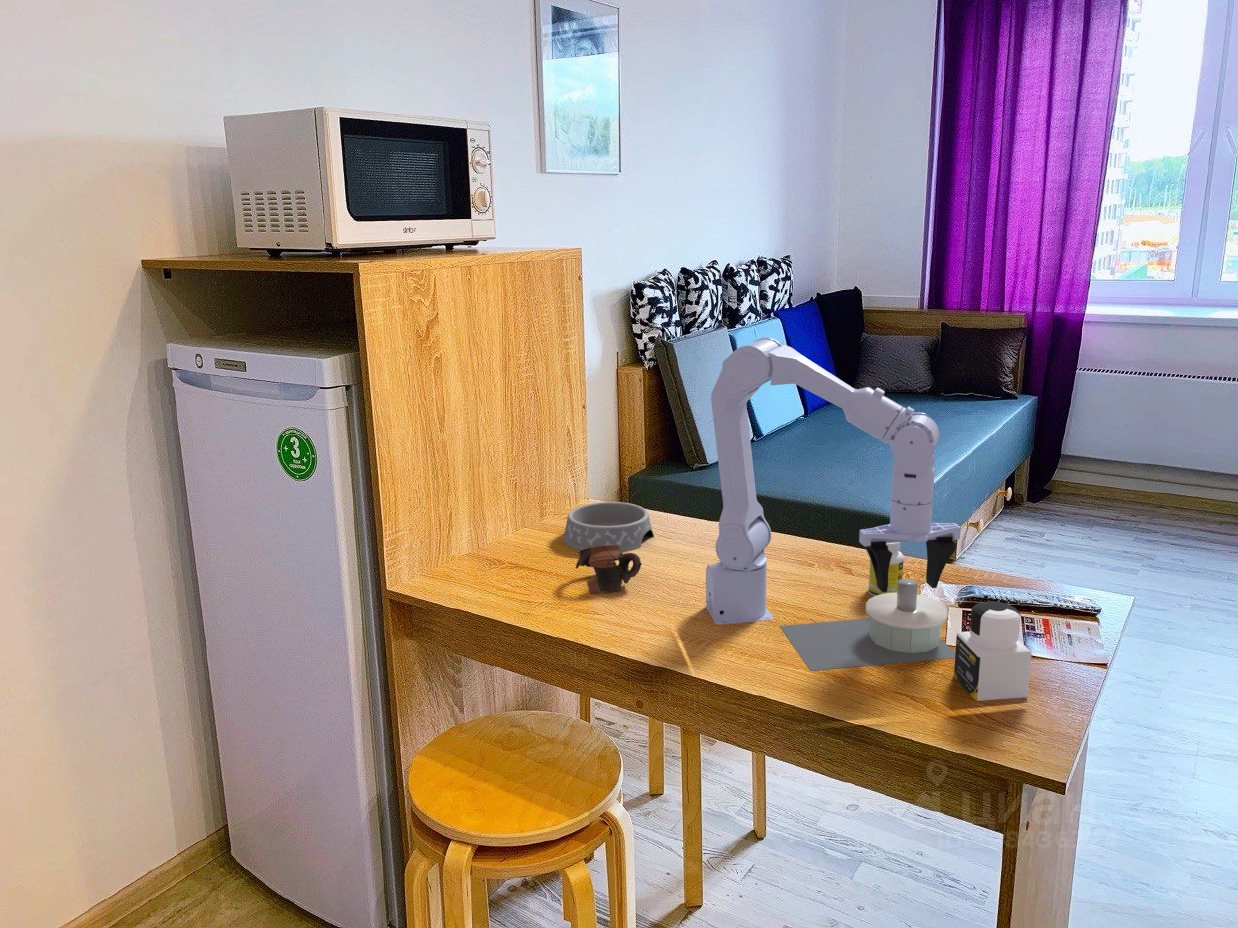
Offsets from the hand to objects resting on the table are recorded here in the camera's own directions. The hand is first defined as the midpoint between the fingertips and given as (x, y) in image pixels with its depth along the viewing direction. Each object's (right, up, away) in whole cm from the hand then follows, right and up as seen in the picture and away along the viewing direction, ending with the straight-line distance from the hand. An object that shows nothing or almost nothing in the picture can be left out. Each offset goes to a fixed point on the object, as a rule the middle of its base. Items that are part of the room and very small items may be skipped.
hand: (906, 587), depth 142 cm
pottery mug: (-44, -3, +27) cm, 52 cm away
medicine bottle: (+7, -12, -12) cm, 19 cm away
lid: (0, -4, +1) cm, 4 cm away
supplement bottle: (+2, -4, +19) cm, 20 cm away
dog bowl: (-44, +3, +51) cm, 68 cm away
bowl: (0, -8, +2) cm, 8 cm away
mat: (-6, -9, +1) cm, 10 cm away
